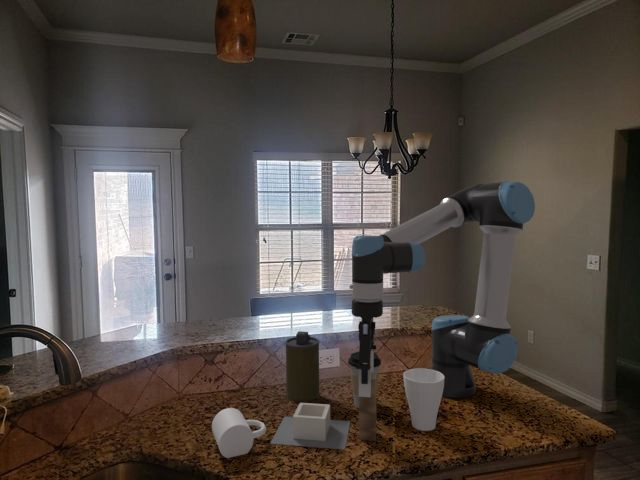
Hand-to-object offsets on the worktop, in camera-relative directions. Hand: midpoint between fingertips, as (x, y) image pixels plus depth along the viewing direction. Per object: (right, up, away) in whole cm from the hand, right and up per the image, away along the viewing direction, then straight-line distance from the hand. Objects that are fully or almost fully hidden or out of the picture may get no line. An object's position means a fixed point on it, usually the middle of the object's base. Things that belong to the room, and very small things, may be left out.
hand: (366, 385), depth 106 cm
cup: (+16, -13, +8) cm, 22 cm away
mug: (-30, -14, -2) cm, 34 cm away
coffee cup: (+2, -13, +19) cm, 23 cm away
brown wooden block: (0, -14, +1) cm, 14 cm away
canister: (-17, -13, +26) cm, 33 cm away
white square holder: (-13, -13, +3) cm, 19 cm away
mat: (-13, -14, +3) cm, 19 cm away
